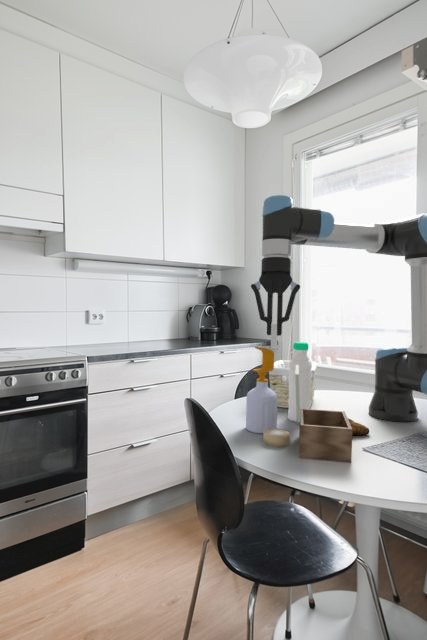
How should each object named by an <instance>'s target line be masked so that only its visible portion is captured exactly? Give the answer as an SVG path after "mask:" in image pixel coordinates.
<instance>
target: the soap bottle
mask: <svg viewBox="0 0 427 640" xmlns="http://www.w3.org/2000/svg"><path fill="white" fill-rule="evenodd" d="M254 348H255V349H256V350H259V351H260V352H261V353H262V362H261V363H262V364H261V367H259V368H254V369H252V371H253V372H256V373H257V375H258V376H259V378H257V379H256V386H255V387H253V388H252V389H250V390H249V391H248V392H247V394H246V408H245V410H246V413H245V414H246V415H245V418H246V419H245V429H246V430H248V431H249V432H251V433H253V434H254V433H255V434H261V435H264V431H266V430H270V429H278V427H277V425H278V407H277V395H276V393H275V392H274V391H273V390H271V389H270V387H269V380H268V379H269V378H266V375H268V373H269V372H270V371H273V369H274V363H275V353H274V351H273V349H271V348H267V347H262V346H254Z"/></svg>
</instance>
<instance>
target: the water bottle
mask: <svg viewBox="0 0 427 640" xmlns="http://www.w3.org/2000/svg"><path fill="white" fill-rule="evenodd" d="M292 348H293V351H294V353H293V356H292V357H291V359H290V360H289V361H290V363H289V368H290V372H289V400H288V405H289V408H287V410H288V411H287V418H288V419H289V420H290V421H291V422H295V423H296V417H297V412H296V379H295V370H296V365H299V394H300V408H301V409H311V406H312V404H311V400H310V394H311V368H312V365H311V362H312V361H310V358H309V356H308V354H307V353H308V350H309V344H308V342H304V341H296V342H293V344H292ZM310 405H311V406H310Z"/></svg>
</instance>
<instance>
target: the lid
mask: <svg viewBox="0 0 427 640" xmlns="http://www.w3.org/2000/svg"><path fill="white" fill-rule="evenodd" d="M295 379H296V412H297V417H296V422H295V423H296V426H298V427H299V426H300V425H301V417H300V394H299V365H296V370H295Z"/></svg>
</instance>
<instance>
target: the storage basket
mask: <svg viewBox="0 0 427 640" xmlns="http://www.w3.org/2000/svg"><path fill="white" fill-rule="evenodd" d="M290 361H291V360H285V359H280V360H276V361H274V369H273V371H270V372H268V375H269V377H268V379H269V380H268V381H269V388H270V389H271V390H273V391H274V392H275V393H276V395H277V408H284V409H289V405H288V400H289V372H290V368H289V363H290ZM310 362H311V365H312V368H311V394H310V400H311V405H310V407H311V406H312V405H313V402H314V396H315V383H316V382H315V380H316V378H315V377H316V373H317V368H318V367H317V366H318V364H317V361H310Z"/></svg>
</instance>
